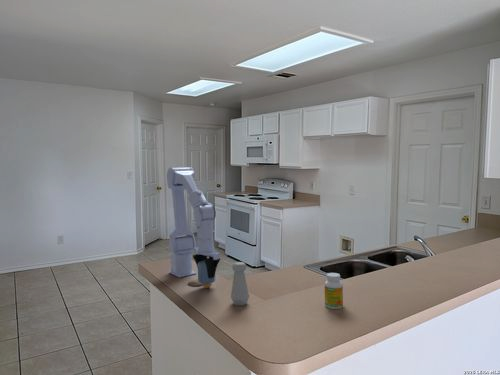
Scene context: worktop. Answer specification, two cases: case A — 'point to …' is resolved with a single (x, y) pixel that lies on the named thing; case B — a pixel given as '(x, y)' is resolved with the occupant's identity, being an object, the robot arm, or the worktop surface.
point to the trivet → (195, 283)
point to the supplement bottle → (333, 291)
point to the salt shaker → (239, 285)
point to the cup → (203, 273)
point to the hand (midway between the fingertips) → (206, 275)
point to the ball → (207, 285)
